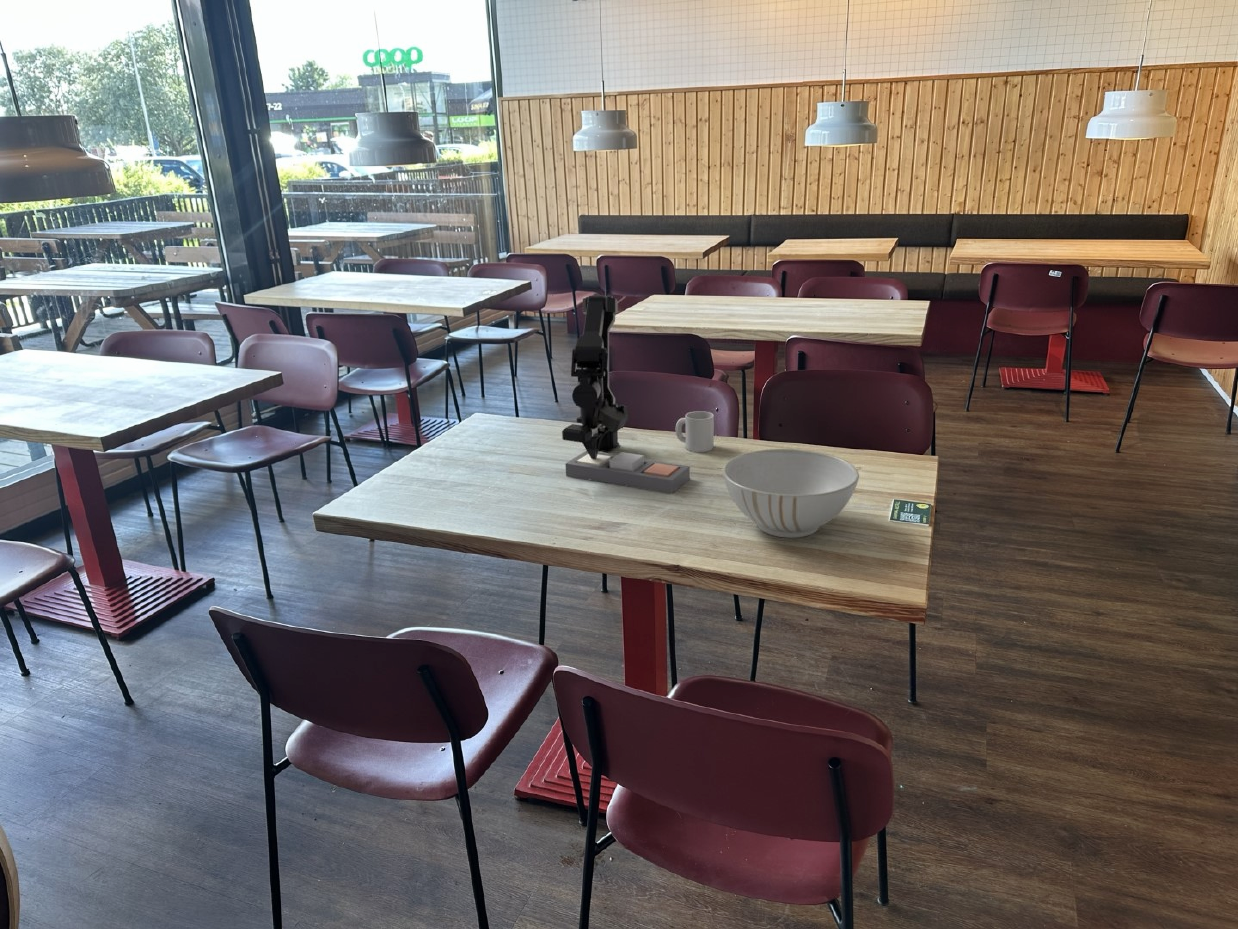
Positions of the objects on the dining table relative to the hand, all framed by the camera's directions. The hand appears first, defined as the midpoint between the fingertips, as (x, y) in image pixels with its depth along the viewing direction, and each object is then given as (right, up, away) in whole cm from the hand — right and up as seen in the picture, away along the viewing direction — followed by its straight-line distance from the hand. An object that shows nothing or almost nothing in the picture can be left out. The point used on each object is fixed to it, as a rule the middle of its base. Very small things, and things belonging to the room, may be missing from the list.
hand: (593, 458), depth 211 cm
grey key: (+8, -2, -4) cm, 9 cm away
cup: (+26, +3, +16) cm, 30 cm away
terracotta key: (+16, -5, -7) cm, 18 cm away
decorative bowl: (+41, -14, -31) cm, 53 cm away
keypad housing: (+8, -5, -3) cm, 10 cm away
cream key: (0, -2, +1) cm, 2 cm away
